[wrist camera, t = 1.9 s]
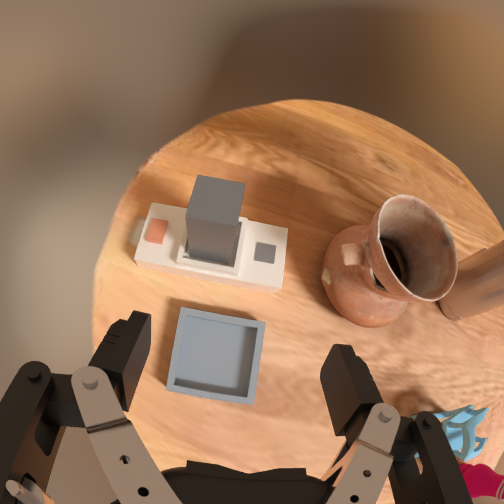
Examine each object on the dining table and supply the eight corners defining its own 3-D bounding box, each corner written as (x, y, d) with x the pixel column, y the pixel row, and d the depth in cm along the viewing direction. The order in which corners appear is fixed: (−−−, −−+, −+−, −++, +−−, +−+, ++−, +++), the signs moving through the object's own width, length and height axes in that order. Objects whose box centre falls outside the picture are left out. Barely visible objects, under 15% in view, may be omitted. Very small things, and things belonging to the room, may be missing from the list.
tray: (182, 309, 34) (180, 306, 32) (262, 324, 35) (265, 322, 33) (168, 388, 30) (165, 390, 28) (250, 402, 31) (253, 404, 29)
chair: (446, 437, 31) (498, 443, 20) (411, 457, 30) (465, 471, 19) (445, 398, 34) (499, 397, 23) (410, 416, 32) (468, 422, 21)
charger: (234, 229, 36) (245, 183, 27) (228, 264, 34) (237, 226, 25) (198, 222, 35) (197, 174, 26) (190, 256, 34) (185, 216, 24)
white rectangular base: (282, 237, 40) (290, 224, 36) (275, 293, 37) (284, 285, 33) (155, 213, 38) (150, 197, 34) (138, 267, 35) (131, 255, 31)
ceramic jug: (310, 335, 35) (370, 319, 22) (301, 231, 40) (345, 173, 27) (413, 324, 38) (482, 303, 25) (399, 238, 44) (455, 197, 30)
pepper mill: (441, 497, 26) (519, 518, 8) (452, 464, 29) (536, 476, 11) (463, 489, 27) (536, 502, 8) (473, 458, 30) (551, 464, 11)
